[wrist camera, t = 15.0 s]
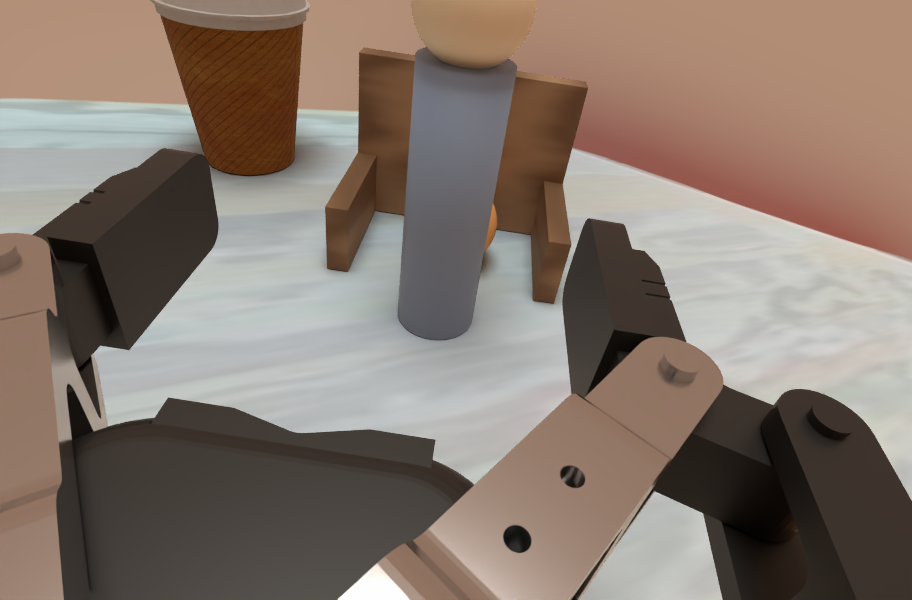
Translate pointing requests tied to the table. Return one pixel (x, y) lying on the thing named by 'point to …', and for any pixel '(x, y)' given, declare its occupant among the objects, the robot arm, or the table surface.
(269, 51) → the disposable coffee cup
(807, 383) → the table surface
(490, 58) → the player figure
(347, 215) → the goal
